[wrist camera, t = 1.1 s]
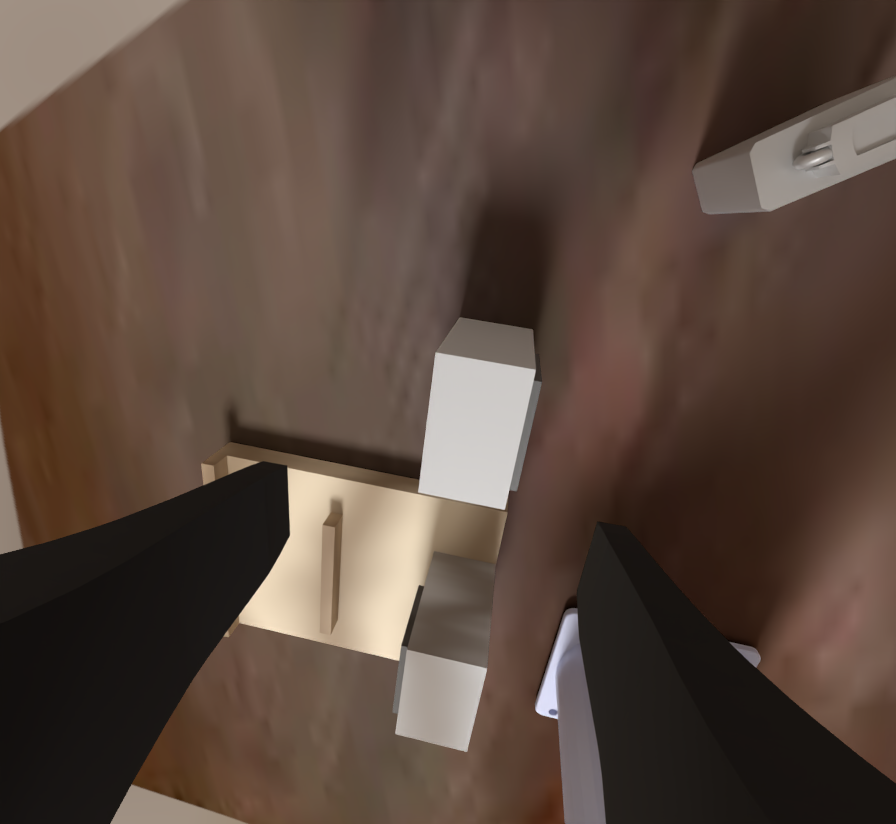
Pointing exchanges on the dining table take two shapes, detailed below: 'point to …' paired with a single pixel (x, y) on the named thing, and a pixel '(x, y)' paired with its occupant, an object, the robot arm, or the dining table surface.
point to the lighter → (802, 154)
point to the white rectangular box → (480, 412)
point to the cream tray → (384, 582)
